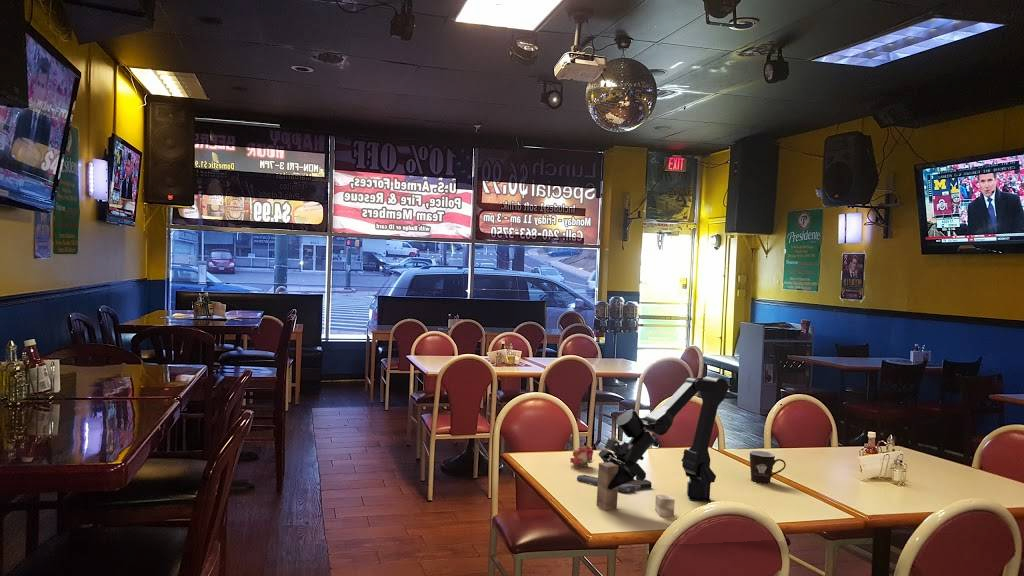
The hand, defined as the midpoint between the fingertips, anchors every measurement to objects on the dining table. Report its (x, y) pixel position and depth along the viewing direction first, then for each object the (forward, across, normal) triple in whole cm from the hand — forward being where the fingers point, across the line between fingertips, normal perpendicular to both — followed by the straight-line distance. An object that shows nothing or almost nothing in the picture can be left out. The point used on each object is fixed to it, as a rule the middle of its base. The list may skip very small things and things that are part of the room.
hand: (603, 486), depth 219 cm
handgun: (-8, -21, +18) cm, 29 cm away
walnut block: (+4, 0, +6) cm, 7 cm away
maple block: (-6, +10, +16) cm, 19 cm away
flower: (-8, -44, +18) cm, 49 cm away
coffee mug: (-47, -9, +57) cm, 74 cm away
